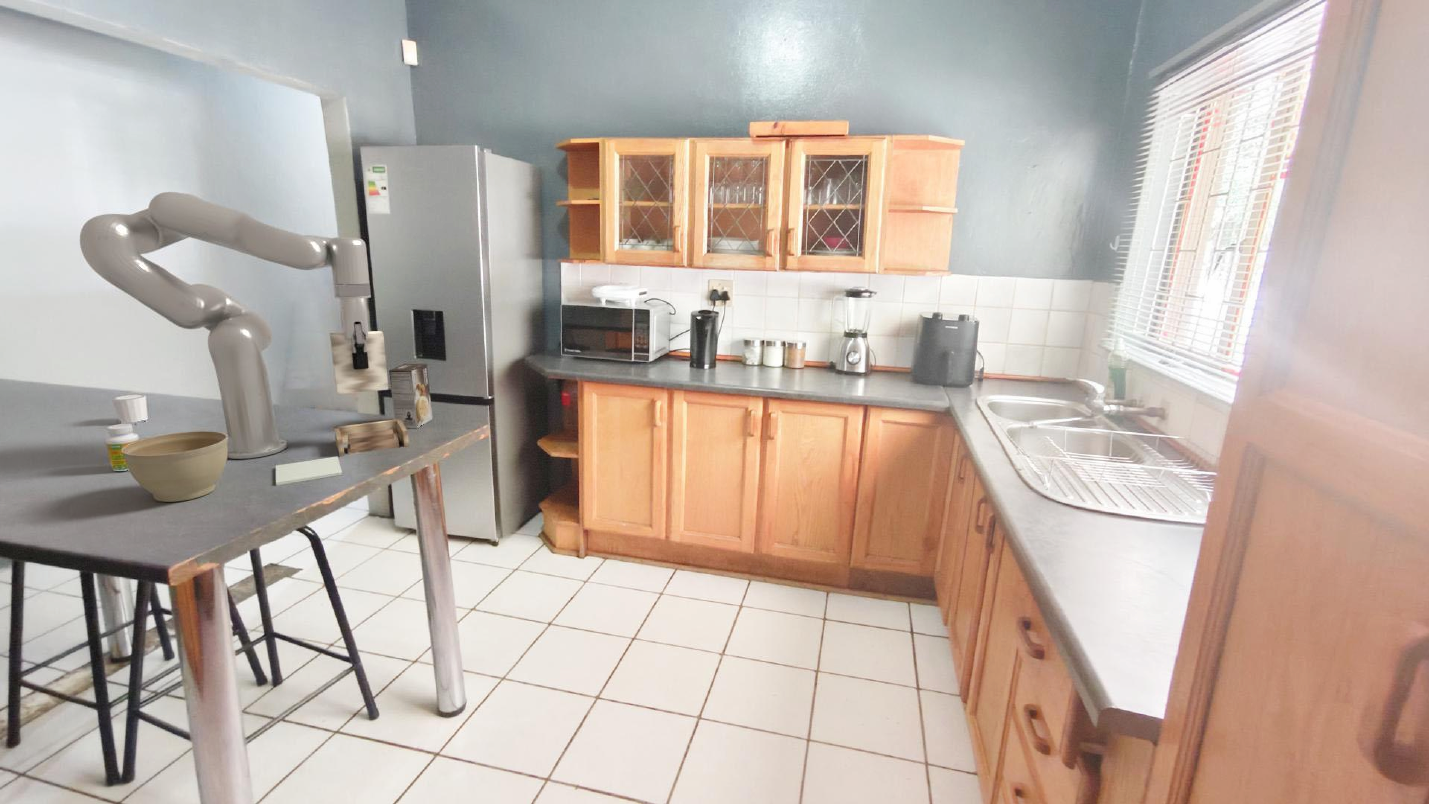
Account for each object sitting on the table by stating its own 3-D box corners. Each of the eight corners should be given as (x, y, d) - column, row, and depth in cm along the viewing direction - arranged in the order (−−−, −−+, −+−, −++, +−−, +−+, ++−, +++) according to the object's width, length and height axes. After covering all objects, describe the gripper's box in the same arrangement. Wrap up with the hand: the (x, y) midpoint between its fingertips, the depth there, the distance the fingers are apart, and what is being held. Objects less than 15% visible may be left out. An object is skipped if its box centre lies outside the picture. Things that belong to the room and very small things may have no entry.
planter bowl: (216, 505, 125) (206, 451, 122) (114, 514, 120) (101, 458, 118) (248, 476, 140) (240, 427, 137) (158, 482, 135) (148, 432, 133)
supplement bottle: (110, 474, 140) (99, 430, 137) (115, 466, 144) (105, 424, 142) (142, 470, 142) (133, 427, 140) (147, 462, 147) (138, 421, 144)
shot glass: (146, 417, 181) (141, 392, 180) (154, 421, 178) (149, 396, 176) (114, 422, 176) (108, 397, 174) (121, 427, 172) (116, 401, 170)
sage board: (276, 485, 135) (275, 482, 135) (276, 468, 145) (275, 465, 144) (342, 474, 141) (342, 472, 141) (337, 458, 151) (337, 456, 151)
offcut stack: (348, 454, 155) (346, 439, 154) (348, 449, 159) (346, 434, 158) (399, 448, 160) (397, 433, 159) (397, 443, 164) (396, 428, 163)
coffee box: (410, 418, 184) (405, 363, 180) (433, 419, 184) (428, 363, 180) (394, 428, 175) (388, 369, 171) (418, 428, 175) (412, 370, 171)
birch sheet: (337, 393, 155) (331, 335, 152) (336, 390, 159) (329, 333, 155) (388, 389, 161) (383, 333, 158) (386, 386, 164) (381, 331, 161)
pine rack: (339, 456, 153) (337, 439, 152) (335, 442, 163) (333, 427, 162) (409, 445, 161) (407, 430, 160) (401, 433, 171) (399, 418, 170)
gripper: (331, 288, 159) (339, 362, 163) (337, 294, 145) (345, 375, 150) (366, 288, 163) (373, 360, 167) (374, 294, 149) (381, 372, 154)
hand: (360, 366), depth 158 cm, fingers closed on birch sheet, 4 cm apart
